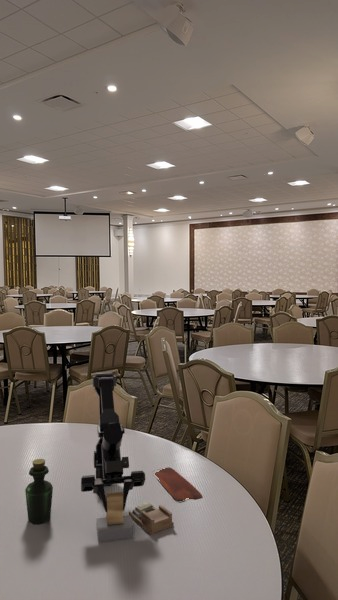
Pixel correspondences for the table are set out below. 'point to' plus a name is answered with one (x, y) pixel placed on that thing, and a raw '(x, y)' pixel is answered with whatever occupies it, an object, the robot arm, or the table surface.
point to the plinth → (114, 529)
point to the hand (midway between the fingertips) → (115, 511)
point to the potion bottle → (39, 494)
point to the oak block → (114, 508)
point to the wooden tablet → (177, 485)
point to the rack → (152, 517)
